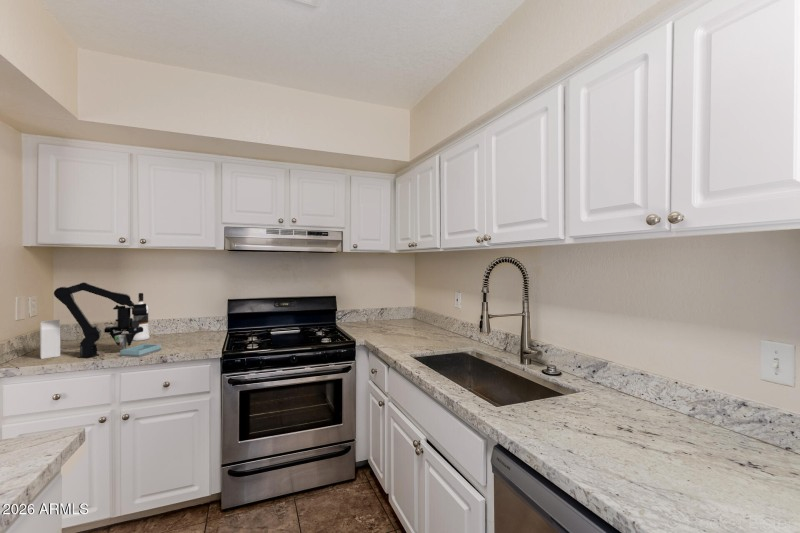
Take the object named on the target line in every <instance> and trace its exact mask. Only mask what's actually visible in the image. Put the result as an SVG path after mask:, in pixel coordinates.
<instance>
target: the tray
mask: <svg viewBox="0 0 800 533" xmlns="http://www.w3.org/2000/svg"><path fill="white" fill-rule="evenodd" d="M160 350H161V351H162V344H157V343H155V344H151V343H143V344H139V345H135V346H132V347H128V348H126V349H123V350H122V349H120V350H119V357H122V356H131V357H130V358H140V357H144V356H143V355H145V356H147V355H146V354H148V355H150V354H149V353H151V354H153V352H154V353H156V352H160Z"/></svg>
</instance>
